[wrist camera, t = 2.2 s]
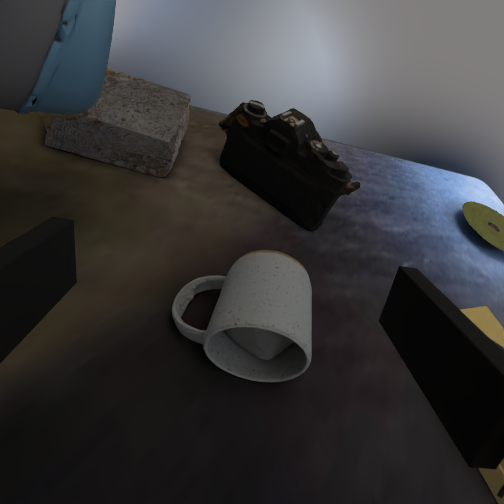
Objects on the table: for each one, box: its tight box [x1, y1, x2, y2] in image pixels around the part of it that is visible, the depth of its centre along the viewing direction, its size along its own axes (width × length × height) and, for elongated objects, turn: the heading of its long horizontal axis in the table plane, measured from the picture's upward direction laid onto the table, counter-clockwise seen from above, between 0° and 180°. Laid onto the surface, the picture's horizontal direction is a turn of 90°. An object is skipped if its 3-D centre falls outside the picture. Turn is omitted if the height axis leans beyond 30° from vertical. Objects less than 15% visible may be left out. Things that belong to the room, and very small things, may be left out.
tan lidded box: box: [461, 306, 504, 504], centre depth 31 cm, size 16×10×4 cm, turn 17°
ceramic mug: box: [172, 250, 312, 382], centre depth 26 cm, size 11×8×8 cm
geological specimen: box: [38, 66, 190, 177], centre depth 38 cm, size 11×6×15 cm
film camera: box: [219, 100, 360, 231], centre depth 41 cm, size 18×12×10 cm
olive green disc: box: [462, 202, 504, 251], centre depth 53 cm, size 11×11×2 cm
